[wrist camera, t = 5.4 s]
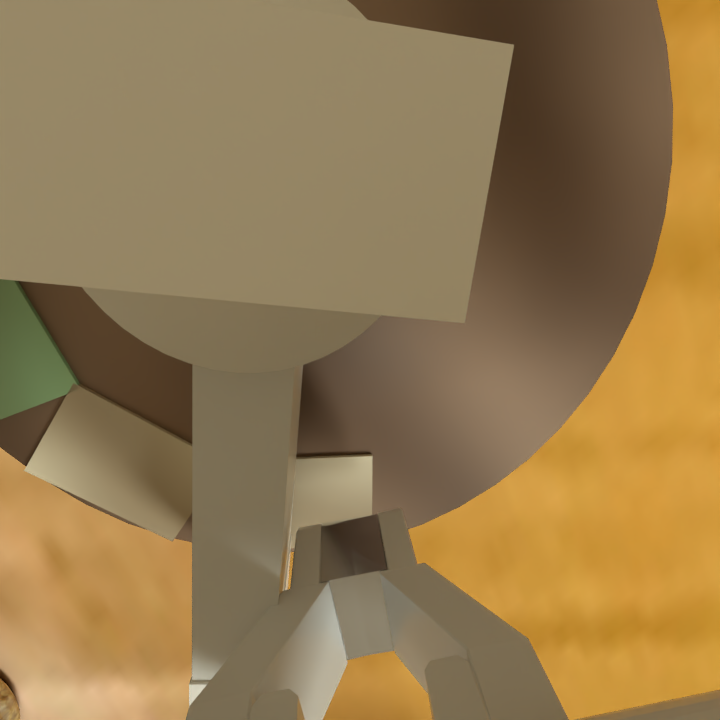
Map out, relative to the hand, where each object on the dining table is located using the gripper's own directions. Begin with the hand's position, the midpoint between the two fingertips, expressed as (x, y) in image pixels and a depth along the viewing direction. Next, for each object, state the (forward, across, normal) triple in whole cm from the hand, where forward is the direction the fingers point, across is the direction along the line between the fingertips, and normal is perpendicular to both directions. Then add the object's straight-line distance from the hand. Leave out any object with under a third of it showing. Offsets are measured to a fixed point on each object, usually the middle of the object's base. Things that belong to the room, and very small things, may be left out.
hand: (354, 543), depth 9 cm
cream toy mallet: (+2, +1, -3) cm, 4 cm away
